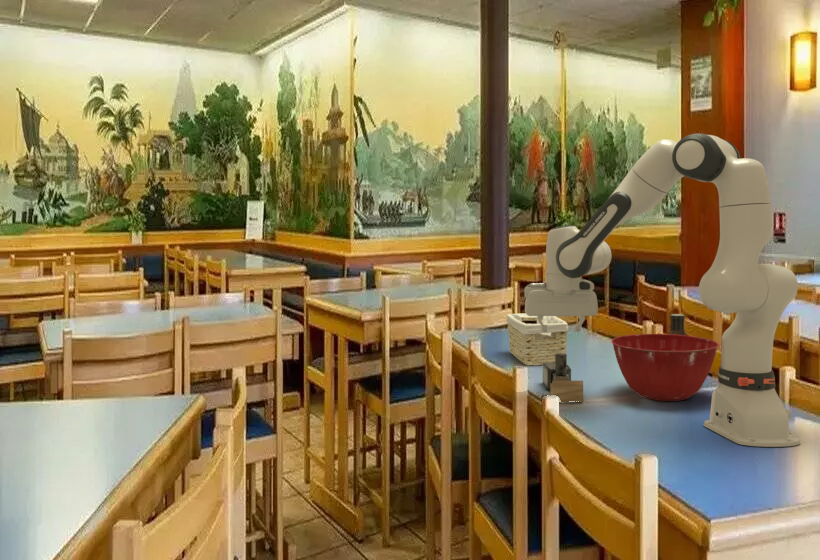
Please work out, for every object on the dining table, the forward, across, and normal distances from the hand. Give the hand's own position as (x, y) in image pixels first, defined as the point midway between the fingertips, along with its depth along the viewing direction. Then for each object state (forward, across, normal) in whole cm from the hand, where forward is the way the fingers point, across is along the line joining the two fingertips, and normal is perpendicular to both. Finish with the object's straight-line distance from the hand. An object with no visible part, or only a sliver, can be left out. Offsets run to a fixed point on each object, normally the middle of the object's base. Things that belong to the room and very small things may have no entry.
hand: (560, 331), depth 210 cm
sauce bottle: (+18, +38, +15) cm, 45 cm away
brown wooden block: (+18, 0, -10) cm, 20 cm away
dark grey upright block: (+17, 0, +4) cm, 17 cm away
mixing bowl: (+18, +28, -4) cm, 34 cm away
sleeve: (+18, 0, +6) cm, 19 cm away
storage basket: (+19, 0, +46) cm, 50 cm away
